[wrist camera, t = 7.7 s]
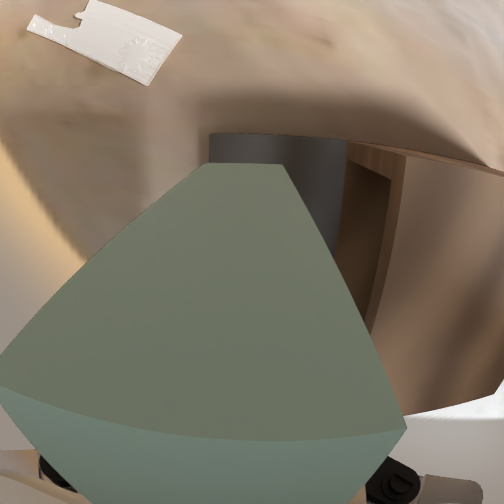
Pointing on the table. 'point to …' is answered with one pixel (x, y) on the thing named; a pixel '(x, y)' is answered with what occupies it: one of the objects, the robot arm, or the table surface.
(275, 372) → the green and grey box
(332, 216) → the cabinet
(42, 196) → the table surface
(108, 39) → the white plastic blade
